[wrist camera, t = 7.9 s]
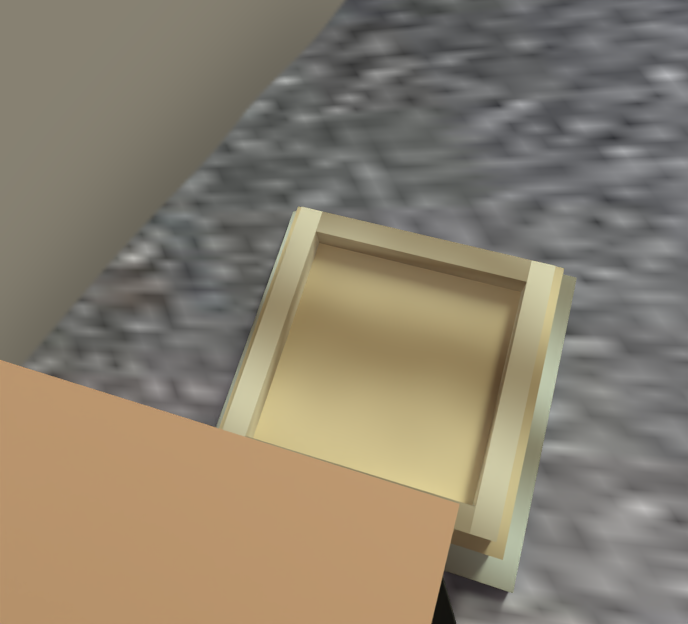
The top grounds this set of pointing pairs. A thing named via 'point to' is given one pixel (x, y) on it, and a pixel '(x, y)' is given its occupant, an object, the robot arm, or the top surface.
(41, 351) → the top surface
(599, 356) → the top surface
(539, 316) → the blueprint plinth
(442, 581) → the robot arm
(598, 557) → the top surface
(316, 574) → the column block
